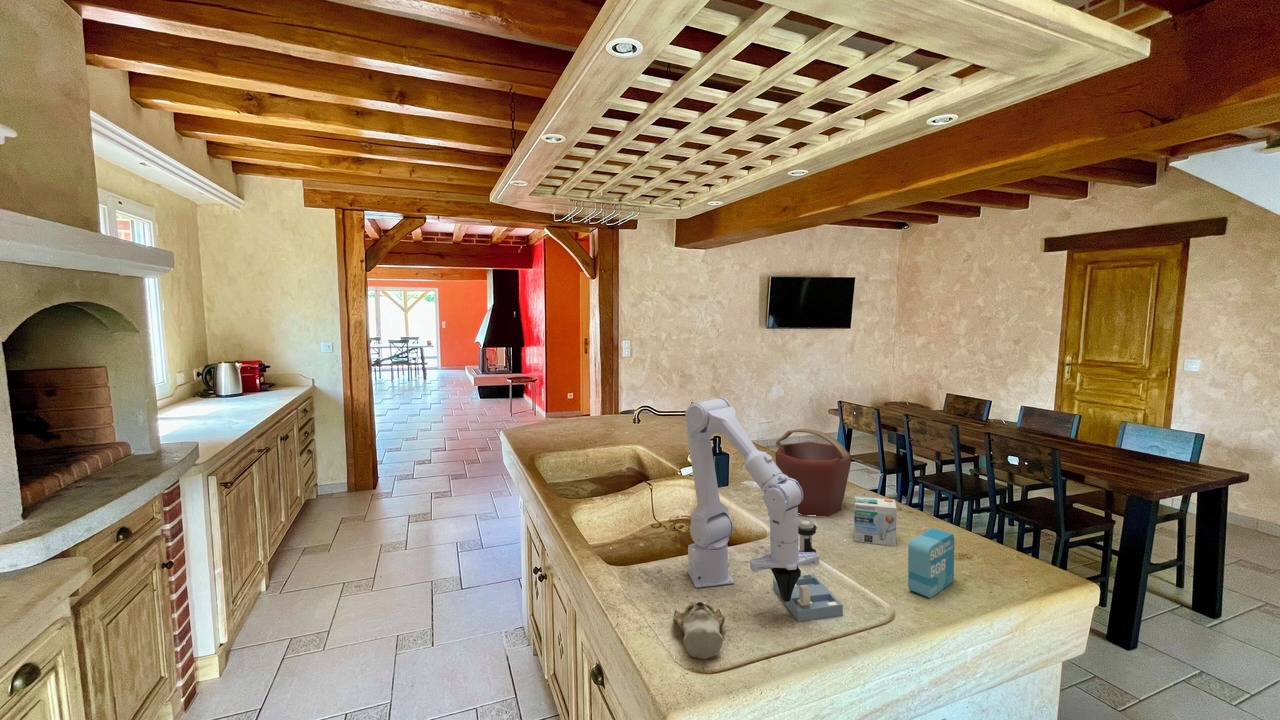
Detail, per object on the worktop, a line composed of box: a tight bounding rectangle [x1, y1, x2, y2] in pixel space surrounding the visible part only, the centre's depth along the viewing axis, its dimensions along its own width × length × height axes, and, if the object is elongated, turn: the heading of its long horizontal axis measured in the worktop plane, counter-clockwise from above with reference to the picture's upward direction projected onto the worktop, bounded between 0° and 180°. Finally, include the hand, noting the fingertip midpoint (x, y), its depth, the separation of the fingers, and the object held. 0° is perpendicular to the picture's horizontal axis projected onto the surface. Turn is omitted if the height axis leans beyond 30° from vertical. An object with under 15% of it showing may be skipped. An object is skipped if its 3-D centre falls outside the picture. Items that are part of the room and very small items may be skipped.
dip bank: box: [772, 573, 844, 623], centre depth 115 cm, size 10×13×2 cm
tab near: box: [797, 585, 813, 606], centre depth 111 cm, size 3×2×4 cm
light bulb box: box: [853, 495, 898, 547], centre depth 143 cm, size 11×7×11 cm, turn 68°
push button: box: [798, 519, 818, 554], centre depth 133 cm, size 7×5×10 cm
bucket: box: [775, 428, 852, 518], centre depth 167 cm, size 24×22×25 cm
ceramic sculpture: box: [672, 601, 726, 660], centre depth 102 cm, size 11×9×15 cm
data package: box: [907, 527, 955, 599], centre depth 118 cm, size 12×4×12 cm, turn 125°
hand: (785, 599), depth 110 cm, fingers closed
